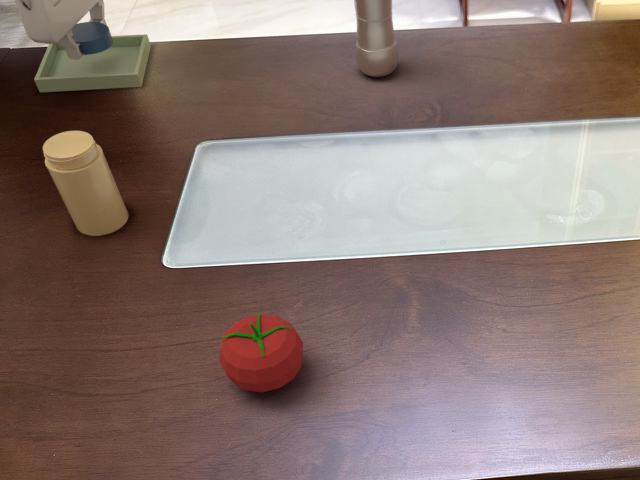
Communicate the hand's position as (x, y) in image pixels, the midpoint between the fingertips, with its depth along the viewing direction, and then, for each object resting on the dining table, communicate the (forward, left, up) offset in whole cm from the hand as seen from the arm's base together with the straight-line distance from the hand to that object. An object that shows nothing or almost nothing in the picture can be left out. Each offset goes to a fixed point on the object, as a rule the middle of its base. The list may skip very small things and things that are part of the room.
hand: (89, 43), depth 106 cm
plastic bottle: (+42, -5, -4) cm, 42 cm away
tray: (0, 0, -4) cm, 4 cm away
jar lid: (0, 0, +1) cm, 1 cm away
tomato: (+26, -63, -4) cm, 68 cm away
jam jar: (+6, -36, -4) cm, 37 cm away
